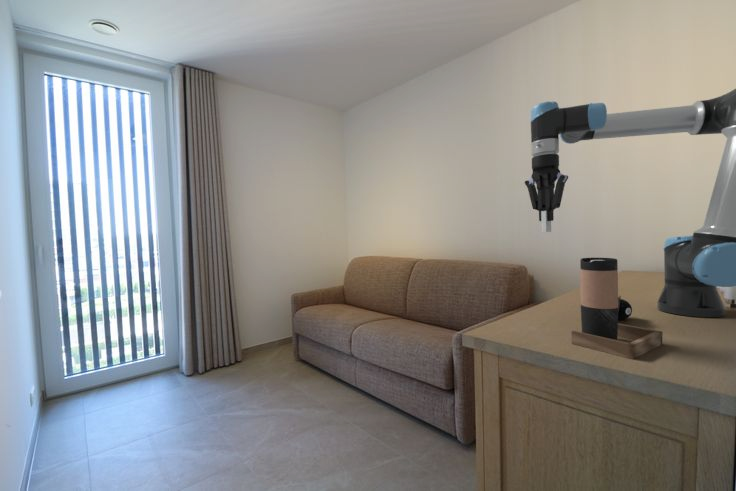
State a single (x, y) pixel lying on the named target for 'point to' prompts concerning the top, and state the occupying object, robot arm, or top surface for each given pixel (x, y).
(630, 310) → the billiard ball
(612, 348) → the shallow wooden tray
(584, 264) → the travel mug
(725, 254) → the robot arm
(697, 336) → the top surface
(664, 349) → the top surface
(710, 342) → the top surface
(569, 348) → the top surface
